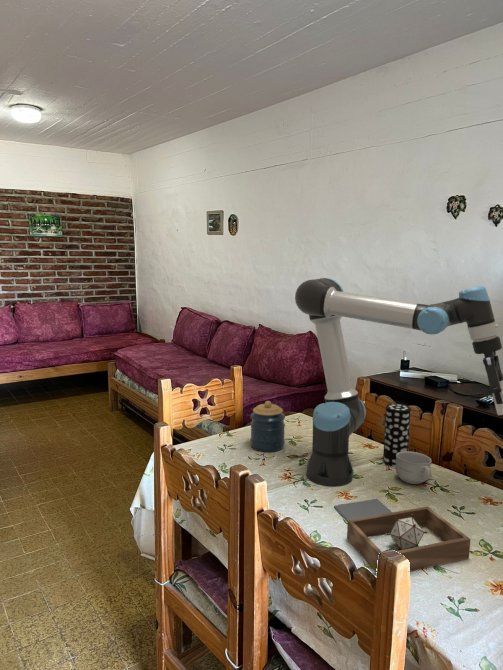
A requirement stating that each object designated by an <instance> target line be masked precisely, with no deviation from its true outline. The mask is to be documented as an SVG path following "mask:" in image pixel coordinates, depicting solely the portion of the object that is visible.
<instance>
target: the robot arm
mask: <svg viewBox="0 0 503 670" xmlns="http://www.w3.org/2000/svg"><path fill="white" fill-rule="evenodd" d="M487 291H488V290H487V288H486V287H485V286H483V285H478V286H475V287H469V288H466V289H463V290H460V291H459V292H458V297H457V298H454V299H450V300H446V301H441V302H437V303H434V304H423V303H417V302H410V301H403V300H397V299H391V298H384V297H378V296H372V295H367V294H366V295H365V294H360V293H359V294H358V293H354V292H353V293H352V292H346V291H344V289H343V286H341V284H340V283H339V282H338V281H336V280H334V279H332V278H328V277H327V278H326V277H322V278H316V279H315V278H313V279H308V280H305V281H303V282H302V283H301V284H299V285H298V287H297V289H296V290H295V294H294V295H295V296H294V300H295V304H296V306H297V308H298V309H299V311H301V312H302V313H304V314H305V315H307V316H308V318H309V322H311V323H312V324H314V325H315V331H316V336H317V340H318V341H317V342H318V346H319V352H320V357H321V361H322V367H323V372H324V378H325V383H326V388H327V393H326V394H325V395H324V401H325V402H323V403H320V404H317V405H316V407H315V408H314V410H313V414H312V449H311V450H312V452H311V455H310V457H309V460H308V463H307V465H306V477H307V479H309V481H311V482H313V483H316V484H317V485H318V484H319V485H322V486H328V487H330V486H331V487H337V486H344V485H347V484H349V483H351V482H352V481H353V479H354V468H353V465H352V463H351V460H350V456H349V448H350V445H349V444H350V443H349V441H350V436H351V435H352V434H354V432H355V431H356V430H358V429H359V428H361V426H362V425H363V423H364V420H365V419H366V415H367V414H366V413H367V412H366V406H365V404H364V402H363V401H362V400H361V399H360V397H359V392H358V391H357V390H356V389H355V388H354V387H353V383H352V382H353V381H352V377H351V373H350V367H349V362H348V356H347V351H346V346H345V341H344V335H343V329H342V325H341V324H342V323H341V319H342V318H349V319H355V320H361V321H366V322H370V323H371V322H372V323H377V324H384V325H389V326H394V327H400V328H406V329H413V330H417V331H421V332H423V333H425V334H427V335H437V334H438V335H439V334H440V333H442V332H444V331H445V330H446V328H447V327H450V326H451V327H452V326H454V325H459V324H463V323H466V325H467V331H468V335H469V337H470V340H471V341H472V342H471V344H472V348H473V352H474V354H476V355H482V354H483V359H482V363H483V365H484V369H485V372H486V375H487V379H488V385H489V390H488V394H489V395H490V394H491V395H492V398H493V402H494V406H495V411H496V414H497V416H502V415H503V372H502V369H501V366H500V360H499V356H498V355H497V351H500V350H502V349H503V345H502V341H501V339H500V336H498V334H499V332H498V328H499V327H500V326H499V323H498V324H496V319H495V315H494V312H493V308H492V304H491V300H490V298H489V295H488V292H487Z"/></svg>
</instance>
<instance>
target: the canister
mask: <svg viewBox="0 0 503 670" xmlns="http://www.w3.org/2000/svg"><path fill="white" fill-rule="evenodd" d="M285 418H286V415H285V414H284V409H283V408H282V407H280V406H279V405H277V404H273V403H272V402H271V401H270V400H266V401H265V402H264V403H261V404H259V405H256V407H254V408H253V409H252V413H251V414H250V419H251V423H250V447H251V448H252V449H254V450H255V451H259V452H264V453H272V452H273V453H274V452H277V451H280V450H282V449H284V447H285V443H286V441H285V440H286V439H285V427H286V423H285V422H284V420H285Z"/></svg>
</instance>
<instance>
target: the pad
mask: <svg viewBox="0 0 503 670" xmlns="http://www.w3.org/2000/svg"><path fill="white" fill-rule="evenodd" d="M333 508H334V509H335V510H336V511H337V512H338V513H339V514H340V516H341V517H342V518H343V519H344V520H345V521H346V522H347V523H348V520H353V519H358V518H364V517H370V516H376V515H381V514H387V513H393V512H394V511H392V510H391V509H390V508H388V507H387V506H386V505H385V504H384V503H382V501H380V500H379V499H378V498H373V499H367V500H360V501H354V502H348V503H343V504H342V503H341V504H337V505H336V504H335V505H333Z"/></svg>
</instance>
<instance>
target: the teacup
mask: <svg viewBox="0 0 503 670" xmlns="http://www.w3.org/2000/svg"><path fill="white" fill-rule="evenodd" d="M431 465H432V458H431V457H429V456H427V455H426V454H423V453H421V452H417V451H403V452H399V453H397V454H396V467H395V473H396V475H397V476H398V478H400V479H401V481H403V482H405V483H407V484H411V485H412V484H413V485H420V484H422V483H424V482H425V481H427V480H429V479H430V478H431V477H432V470H431Z"/></svg>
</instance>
